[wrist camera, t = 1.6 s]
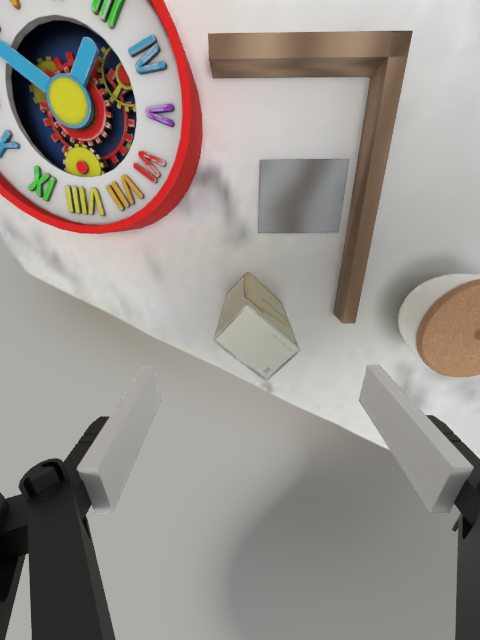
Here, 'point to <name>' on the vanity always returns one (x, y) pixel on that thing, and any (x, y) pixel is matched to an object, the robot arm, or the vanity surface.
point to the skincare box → (256, 328)
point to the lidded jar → (444, 324)
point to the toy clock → (95, 113)
